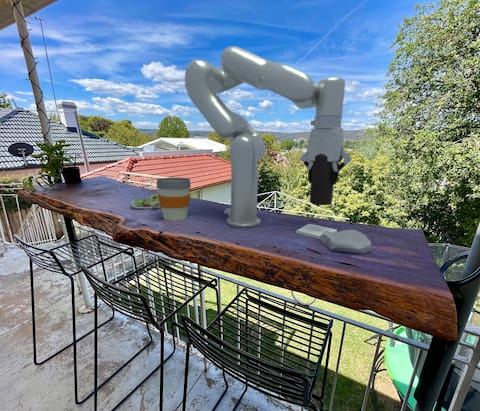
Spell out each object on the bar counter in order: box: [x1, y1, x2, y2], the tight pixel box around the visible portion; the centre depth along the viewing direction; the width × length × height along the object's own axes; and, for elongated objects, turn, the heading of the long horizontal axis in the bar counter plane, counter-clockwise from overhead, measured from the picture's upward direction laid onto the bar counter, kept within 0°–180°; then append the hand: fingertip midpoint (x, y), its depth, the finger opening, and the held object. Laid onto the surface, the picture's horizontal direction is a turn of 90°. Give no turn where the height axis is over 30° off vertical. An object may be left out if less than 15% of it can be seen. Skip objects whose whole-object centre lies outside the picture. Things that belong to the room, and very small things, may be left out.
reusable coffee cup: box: [156, 177, 192, 222], centre depth 93 cm, size 13×13×15 cm
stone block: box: [319, 229, 372, 254], centre depth 69 cm, size 12×5×10 cm
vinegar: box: [309, 154, 334, 206], centre depth 76 cm, size 7×7×20 cm
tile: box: [295, 223, 338, 240], centre depth 80 cm, size 10×10×1 cm
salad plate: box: [130, 193, 162, 211], centre depth 112 cm, size 19×18×5 cm
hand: (322, 182), depth 77 cm, fingers closed on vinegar, 6 cm apart
